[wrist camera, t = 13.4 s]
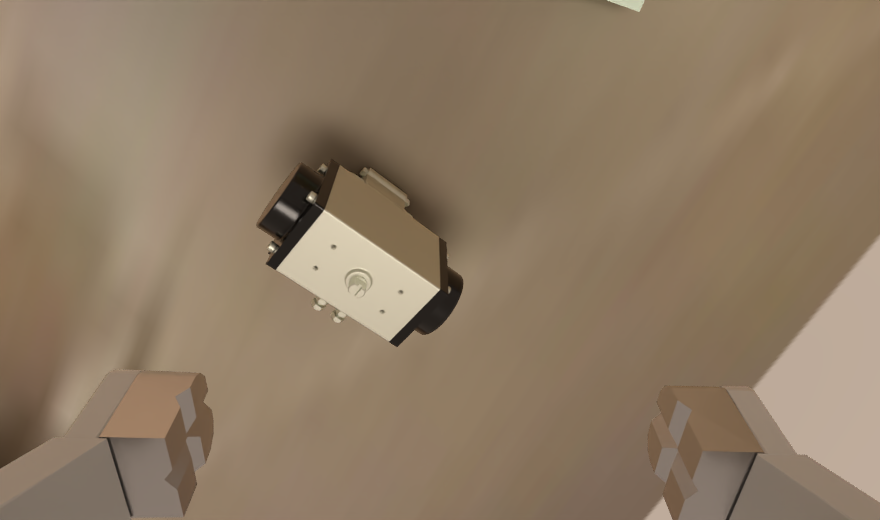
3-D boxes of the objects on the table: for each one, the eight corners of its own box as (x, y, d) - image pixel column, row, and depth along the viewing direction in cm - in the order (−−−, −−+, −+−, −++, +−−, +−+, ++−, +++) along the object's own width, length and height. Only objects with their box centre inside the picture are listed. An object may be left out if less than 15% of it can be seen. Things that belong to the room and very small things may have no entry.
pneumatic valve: (323, 118, 40) (286, 195, 30) (460, 221, 44) (469, 320, 34) (277, 180, 42) (227, 271, 32) (411, 273, 46) (406, 381, 36)
